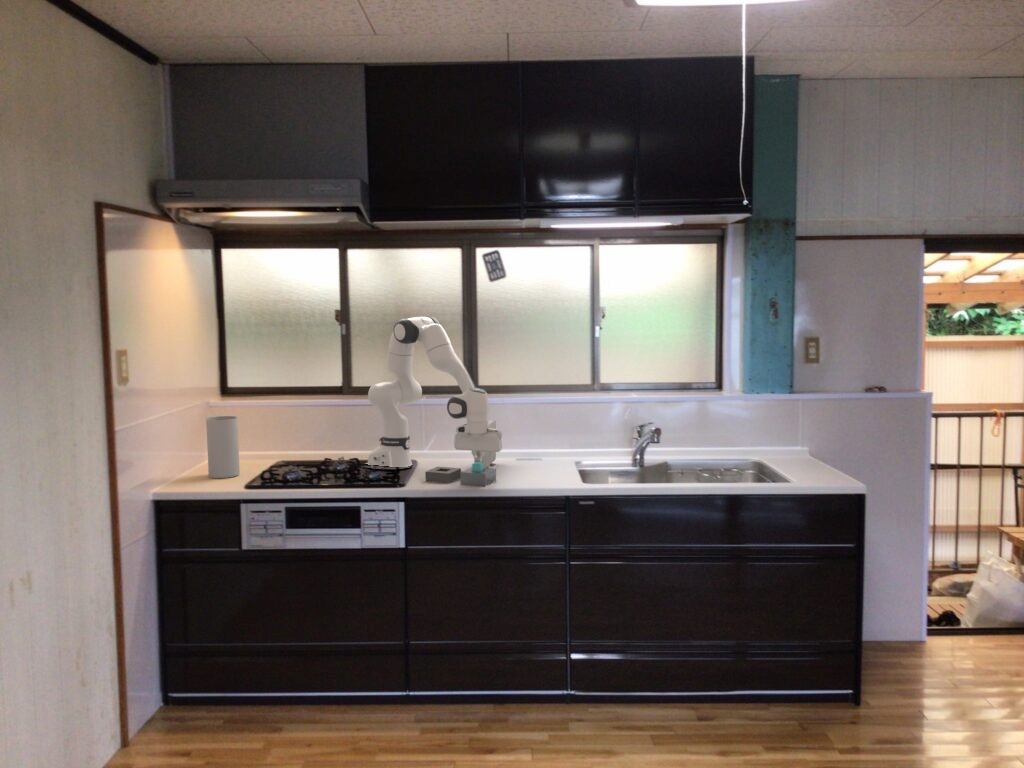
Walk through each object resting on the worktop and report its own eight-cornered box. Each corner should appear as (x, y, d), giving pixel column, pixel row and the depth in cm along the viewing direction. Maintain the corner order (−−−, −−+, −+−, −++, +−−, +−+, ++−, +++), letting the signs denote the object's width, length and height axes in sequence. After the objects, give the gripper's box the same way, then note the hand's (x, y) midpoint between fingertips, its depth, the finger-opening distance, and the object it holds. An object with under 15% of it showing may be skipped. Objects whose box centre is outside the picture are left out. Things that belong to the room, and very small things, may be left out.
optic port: (460, 484, 312) (460, 472, 311) (471, 478, 322) (471, 466, 321) (485, 486, 308) (485, 474, 307) (495, 480, 318) (495, 468, 317)
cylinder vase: (216, 480, 321) (214, 421, 318) (203, 475, 330) (201, 418, 327) (245, 475, 330) (242, 417, 327) (231, 471, 338) (229, 415, 336)
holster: (425, 481, 318) (425, 471, 317) (437, 475, 328) (437, 466, 327) (449, 483, 314) (449, 473, 313) (461, 477, 324) (460, 468, 323)
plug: (472, 483, 314) (472, 463, 313) (476, 481, 317) (475, 462, 316) (480, 483, 313) (480, 464, 312) (483, 481, 316) (483, 462, 315)
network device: (488, 475, 329) (487, 429, 327) (468, 474, 330) (467, 428, 328) (500, 463, 354) (500, 420, 352) (482, 462, 355) (481, 419, 353)
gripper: (504, 428, 312) (504, 461, 313) (459, 425, 319) (459, 458, 321) (498, 430, 306) (498, 464, 307) (452, 427, 313) (452, 461, 315)
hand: (478, 461), depth 314 cm, fingers closed
